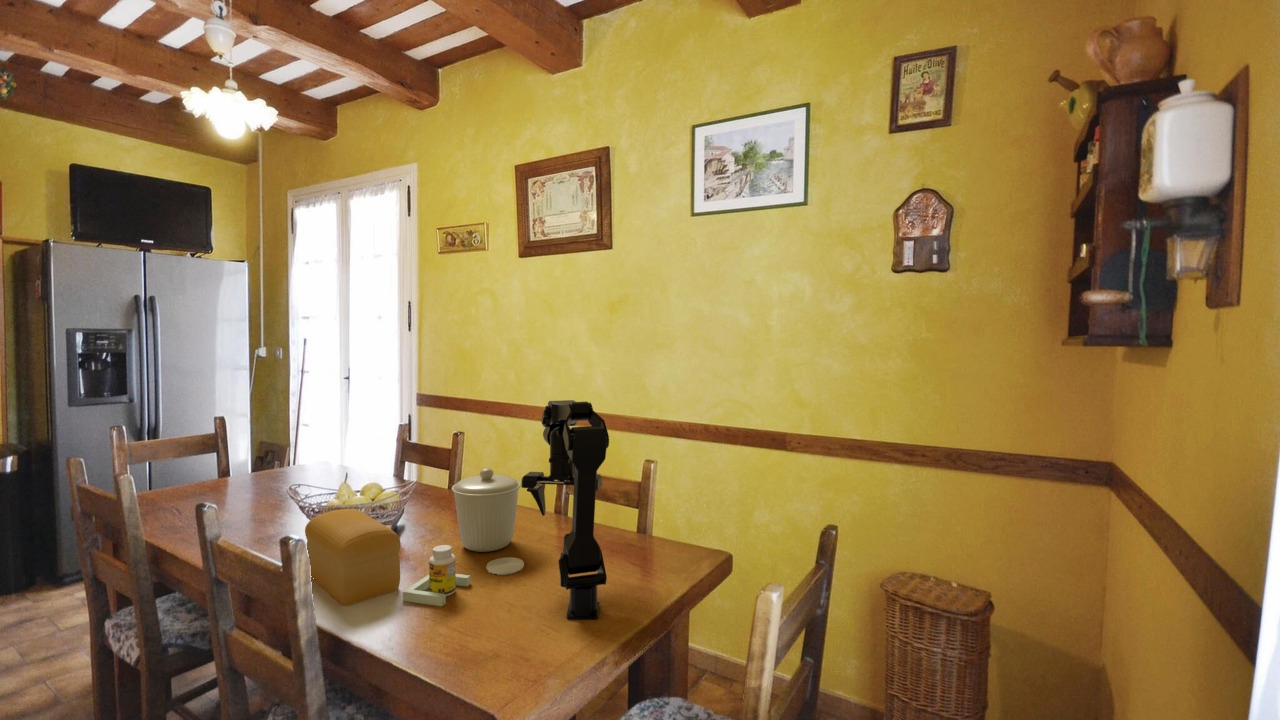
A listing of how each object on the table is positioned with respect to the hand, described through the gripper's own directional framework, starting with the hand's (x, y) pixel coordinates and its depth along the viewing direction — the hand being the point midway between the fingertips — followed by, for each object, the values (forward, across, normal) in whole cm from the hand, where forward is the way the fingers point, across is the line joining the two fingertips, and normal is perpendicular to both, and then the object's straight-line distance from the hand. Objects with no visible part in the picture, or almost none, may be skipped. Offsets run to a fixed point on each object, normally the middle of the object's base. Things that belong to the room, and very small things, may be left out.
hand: (562, 516), depth 145 cm
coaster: (+13, +14, 0) cm, 20 cm away
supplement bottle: (+14, +23, +16) cm, 31 cm away
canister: (+13, +25, -13) cm, 31 cm away
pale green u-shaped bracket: (+14, +24, +16) cm, 32 cm away
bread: (+14, +47, +13) cm, 50 cm away
